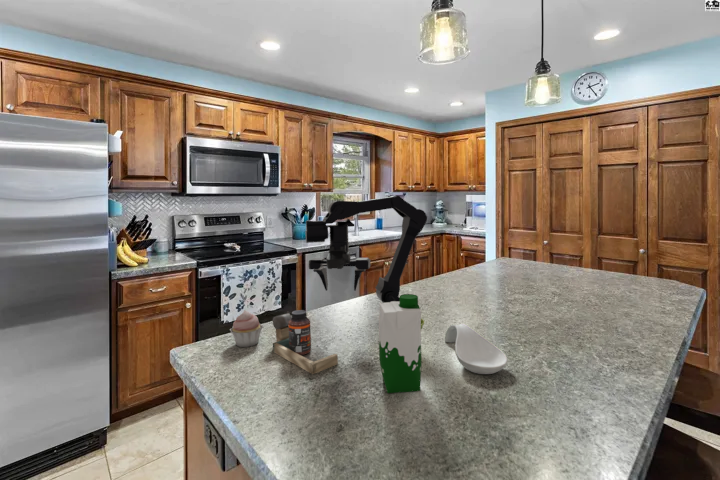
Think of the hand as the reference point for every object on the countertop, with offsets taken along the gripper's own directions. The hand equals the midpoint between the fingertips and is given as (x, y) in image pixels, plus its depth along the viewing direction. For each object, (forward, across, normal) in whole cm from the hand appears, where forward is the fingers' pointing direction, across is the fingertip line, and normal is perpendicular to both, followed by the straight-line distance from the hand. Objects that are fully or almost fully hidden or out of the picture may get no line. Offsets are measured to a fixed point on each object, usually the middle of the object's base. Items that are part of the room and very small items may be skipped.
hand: (340, 290), depth 116 cm
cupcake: (+13, -26, -13) cm, 32 cm away
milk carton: (+13, +20, -33) cm, 41 cm away
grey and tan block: (+13, -15, -12) cm, 23 cm away
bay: (+13, -6, -21) cm, 26 cm away
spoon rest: (+14, +37, -18) cm, 43 cm away
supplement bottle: (+13, -8, -18) cm, 24 cm away
